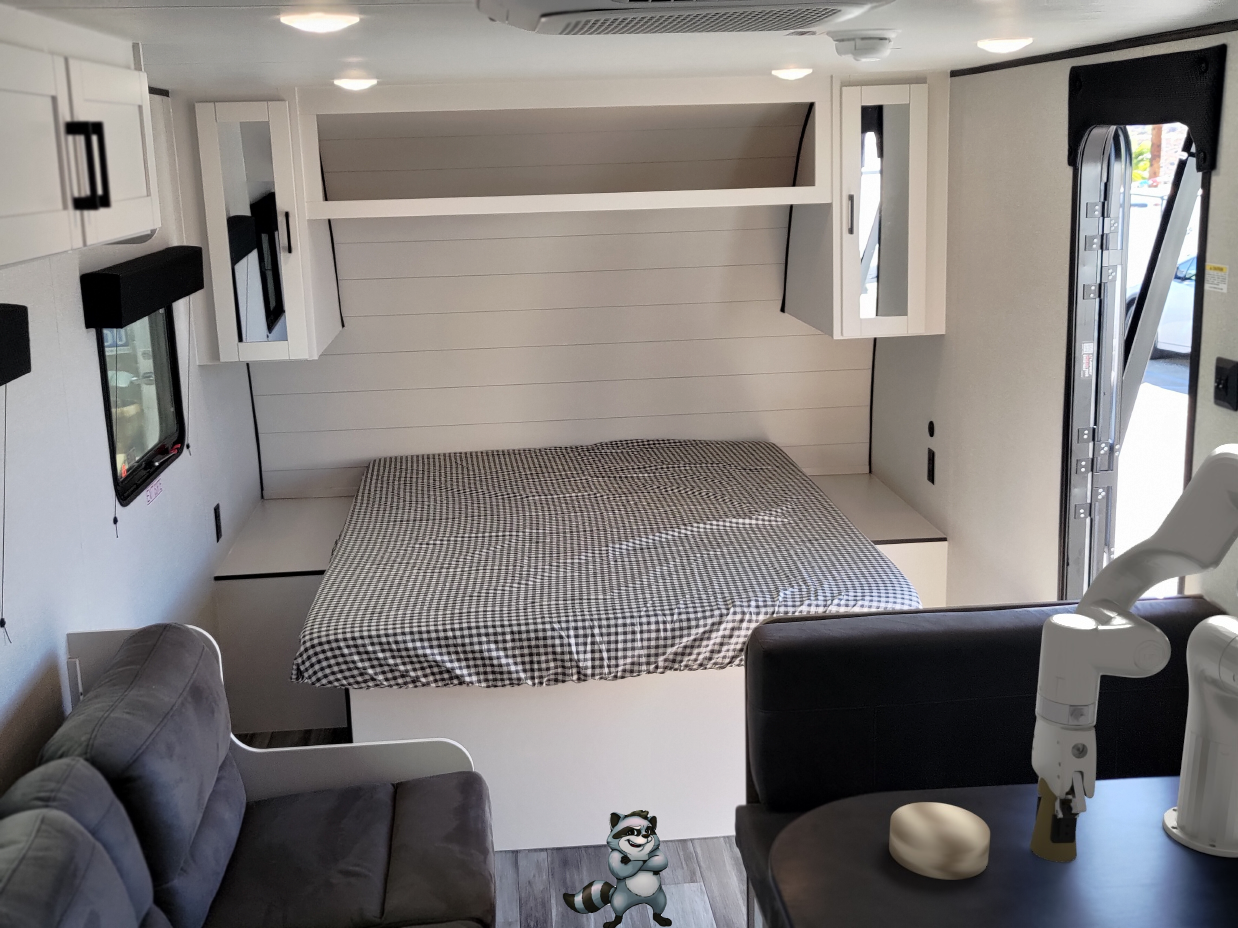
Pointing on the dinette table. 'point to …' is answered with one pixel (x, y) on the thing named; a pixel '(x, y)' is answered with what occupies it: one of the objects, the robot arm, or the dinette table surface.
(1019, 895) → the dinette table surface
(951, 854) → the disc
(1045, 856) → the olive pawn
